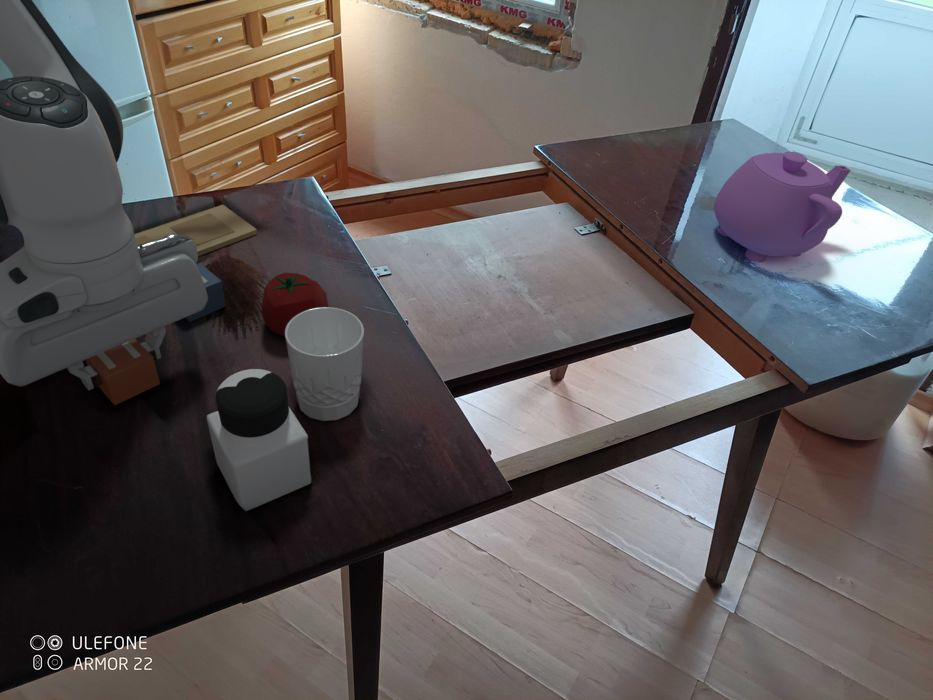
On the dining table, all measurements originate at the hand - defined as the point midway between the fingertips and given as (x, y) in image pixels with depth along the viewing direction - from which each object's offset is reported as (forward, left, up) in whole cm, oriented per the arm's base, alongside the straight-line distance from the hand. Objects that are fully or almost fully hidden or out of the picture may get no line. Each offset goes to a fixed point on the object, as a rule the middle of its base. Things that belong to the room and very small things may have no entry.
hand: (122, 371), depth 73 cm
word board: (-23, +17, -3) cm, 29 cm away
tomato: (+2, +20, -3) cm, 21 cm away
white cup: (+15, +15, -3) cm, 22 cm away
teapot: (+34, +90, -3) cm, 96 cm away
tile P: (-9, +13, -3) cm, 16 cm away
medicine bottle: (+19, +4, -3) cm, 20 cm away
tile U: (0, 0, -2) cm, 2 cm away
